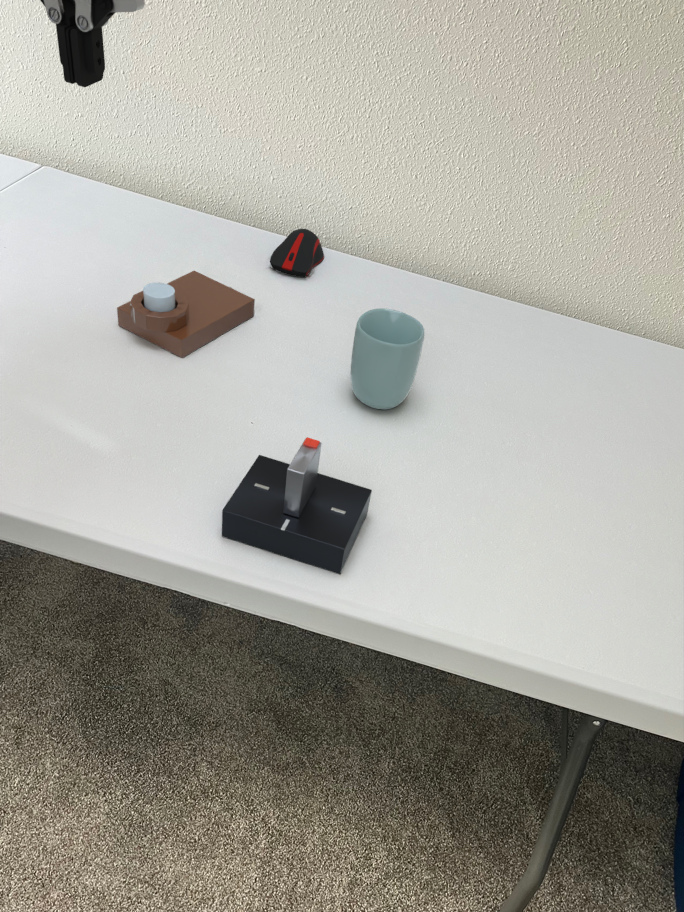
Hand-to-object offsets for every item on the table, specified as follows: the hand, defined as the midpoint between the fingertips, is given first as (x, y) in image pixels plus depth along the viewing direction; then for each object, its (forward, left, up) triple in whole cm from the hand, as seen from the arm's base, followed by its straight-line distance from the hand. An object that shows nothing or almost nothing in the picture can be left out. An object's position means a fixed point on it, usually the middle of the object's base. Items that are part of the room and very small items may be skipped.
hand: (84, 80), depth 64 cm
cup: (+30, 0, -32) cm, 44 cm away
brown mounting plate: (+9, +17, -32) cm, 37 cm away
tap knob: (+17, -21, -28) cm, 39 cm away
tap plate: (+17, -21, -32) cm, 42 cm away
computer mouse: (+26, +34, -32) cm, 54 cm away
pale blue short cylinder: (+5, +13, -28) cm, 31 cm away
